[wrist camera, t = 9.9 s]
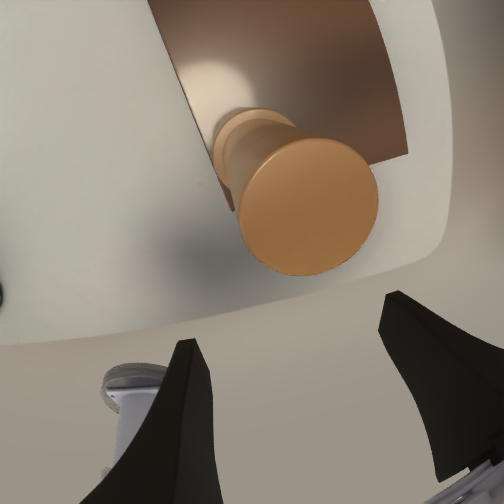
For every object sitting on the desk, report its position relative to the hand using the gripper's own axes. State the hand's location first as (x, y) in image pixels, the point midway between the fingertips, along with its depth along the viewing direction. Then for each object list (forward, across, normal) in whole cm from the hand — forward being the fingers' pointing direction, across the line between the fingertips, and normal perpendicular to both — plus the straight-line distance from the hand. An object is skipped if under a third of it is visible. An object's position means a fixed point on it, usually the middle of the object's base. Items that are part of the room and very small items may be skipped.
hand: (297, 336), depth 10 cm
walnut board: (+8, 0, -23) cm, 24 cm away
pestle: (+7, 0, -6) cm, 9 cm away
